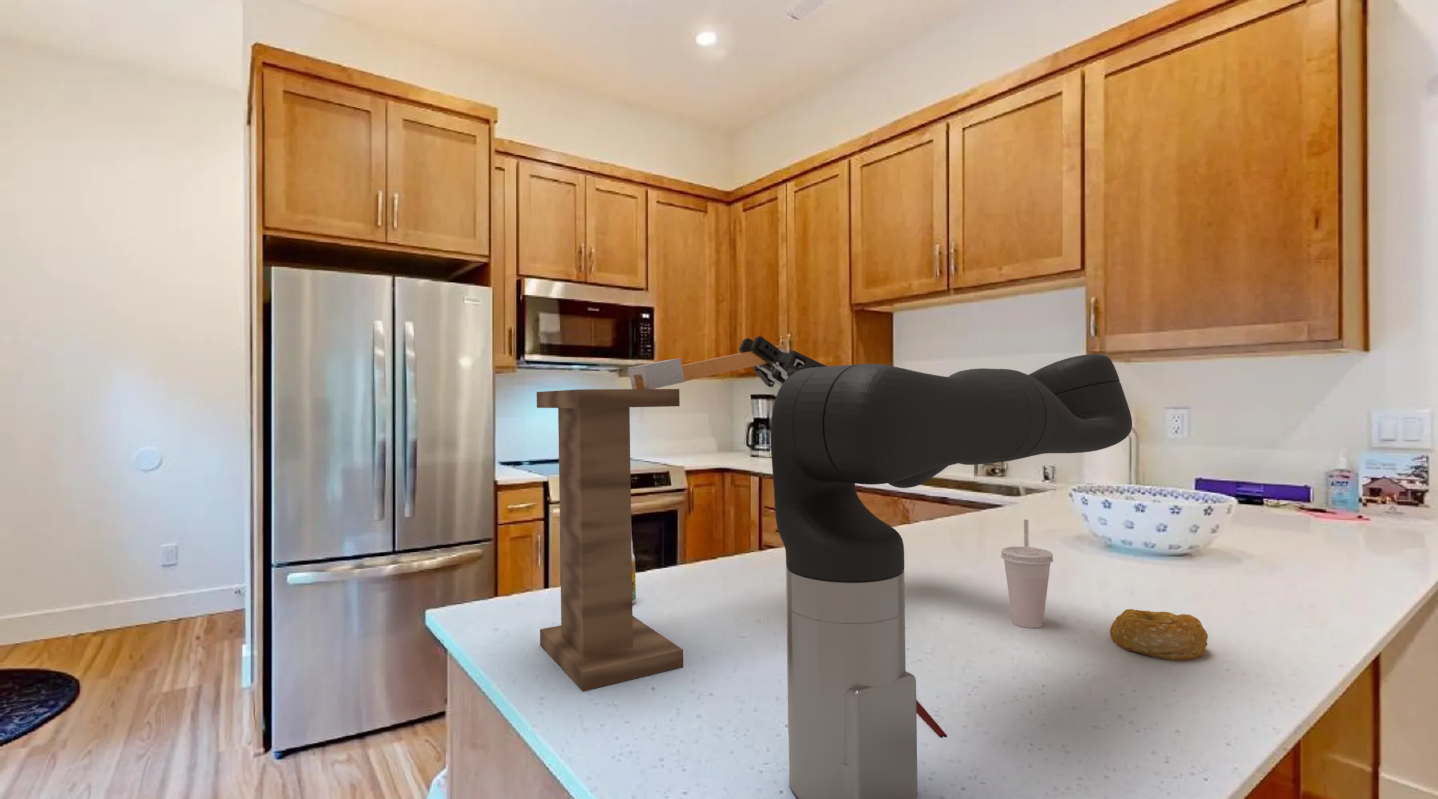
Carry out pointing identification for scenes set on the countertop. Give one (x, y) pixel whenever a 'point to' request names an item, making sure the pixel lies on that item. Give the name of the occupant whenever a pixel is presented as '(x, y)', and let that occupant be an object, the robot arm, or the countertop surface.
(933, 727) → the chopstick
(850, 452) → the robot arm
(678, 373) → the wooden handled hammer
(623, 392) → the wooden pedestal
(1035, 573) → the smoothie
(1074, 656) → the countertop surface
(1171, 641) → the bagel
